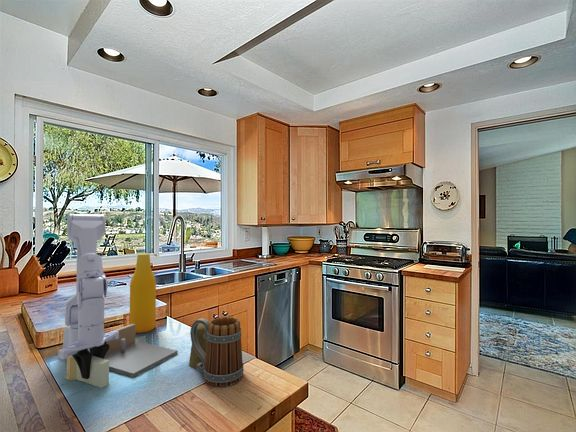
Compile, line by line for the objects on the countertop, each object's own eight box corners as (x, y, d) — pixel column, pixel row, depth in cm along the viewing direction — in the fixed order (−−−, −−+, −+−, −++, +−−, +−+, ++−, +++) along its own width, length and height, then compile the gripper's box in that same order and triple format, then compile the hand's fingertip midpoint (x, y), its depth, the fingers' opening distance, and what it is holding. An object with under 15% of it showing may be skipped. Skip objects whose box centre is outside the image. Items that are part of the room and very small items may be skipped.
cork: (204, 368, 86) (204, 329, 87) (184, 366, 88) (185, 328, 88) (213, 359, 92) (213, 323, 93) (195, 357, 94) (195, 321, 94)
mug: (250, 371, 85) (250, 317, 85) (231, 391, 75) (231, 330, 75) (202, 362, 90) (203, 312, 91) (179, 380, 80) (179, 323, 81)
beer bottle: (159, 328, 118) (160, 254, 119) (135, 335, 111) (136, 256, 112) (149, 323, 124) (150, 252, 125) (125, 329, 118) (126, 254, 118)
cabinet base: (85, 362, 90) (86, 338, 90) (133, 343, 104) (133, 322, 105) (133, 377, 82) (133, 351, 82) (177, 353, 96) (177, 331, 96)
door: (63, 377, 81) (64, 355, 81) (79, 371, 85) (79, 349, 85) (97, 389, 75) (97, 365, 76) (112, 382, 79) (112, 358, 79)
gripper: (71, 335, 72) (70, 393, 71) (126, 317, 85) (125, 366, 85) (53, 330, 75) (52, 386, 74) (109, 314, 88) (108, 361, 88)
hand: (90, 375), depth 80 cm, fingers closed on door, 2 cm apart
